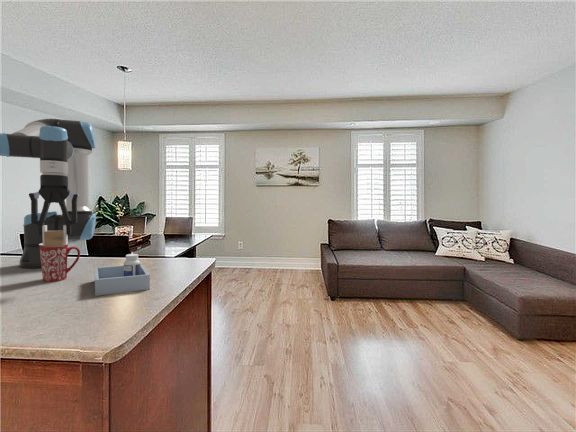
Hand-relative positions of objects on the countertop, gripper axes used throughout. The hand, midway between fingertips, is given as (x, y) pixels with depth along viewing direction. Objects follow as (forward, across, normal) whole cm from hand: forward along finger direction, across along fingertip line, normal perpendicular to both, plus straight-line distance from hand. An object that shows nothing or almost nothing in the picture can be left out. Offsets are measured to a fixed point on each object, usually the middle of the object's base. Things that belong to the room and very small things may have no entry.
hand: (55, 244), depth 111 cm
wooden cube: (0, 0, 0) cm, 0 cm away
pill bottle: (+14, +23, -2) cm, 27 cm away
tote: (+15, +20, -3) cm, 25 cm away
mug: (+15, -1, +14) cm, 21 cm away
